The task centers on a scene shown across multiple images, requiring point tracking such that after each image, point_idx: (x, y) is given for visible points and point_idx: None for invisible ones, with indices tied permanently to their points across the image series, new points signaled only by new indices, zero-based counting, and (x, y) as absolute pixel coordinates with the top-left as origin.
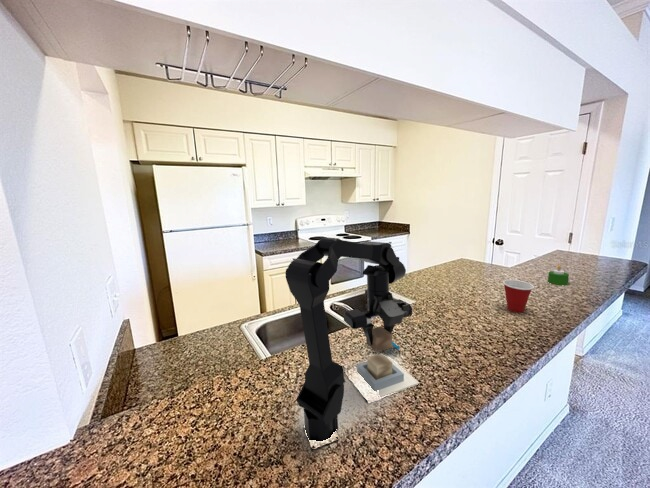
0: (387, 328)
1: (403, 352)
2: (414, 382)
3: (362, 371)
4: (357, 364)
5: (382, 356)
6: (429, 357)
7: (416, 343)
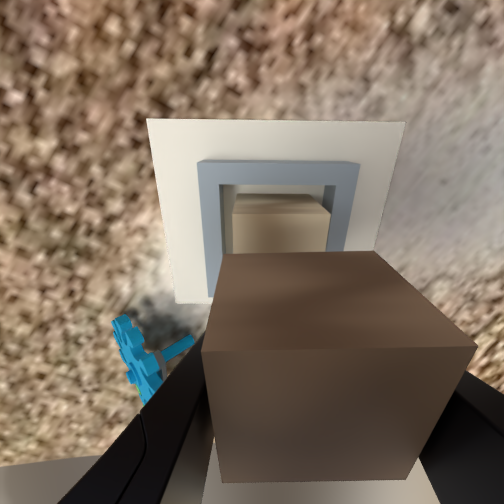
0: (197, 450)
1: (109, 303)
2: (165, 128)
3: None
4: None
5: None
6: (22, 243)
7: (36, 324)
